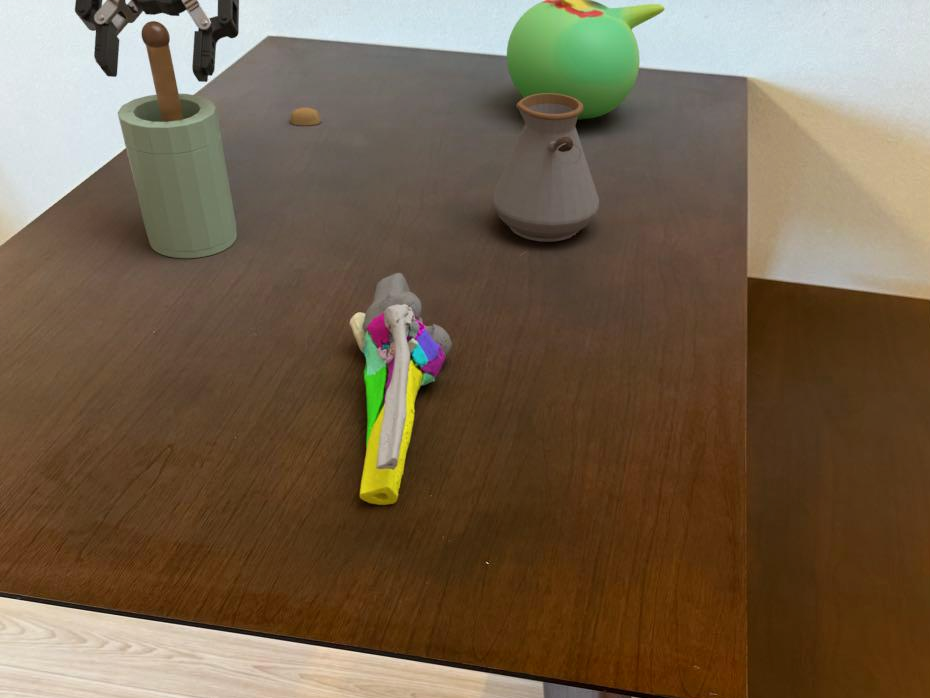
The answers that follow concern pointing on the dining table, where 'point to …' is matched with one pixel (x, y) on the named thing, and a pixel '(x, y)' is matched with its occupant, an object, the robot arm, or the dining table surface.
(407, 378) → the knee model
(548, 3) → the toy bird
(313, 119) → the potato
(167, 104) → the wooden pestle
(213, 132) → the pale green cup
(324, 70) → the dining table surface
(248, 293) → the dining table surface
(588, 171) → the coffee pot
